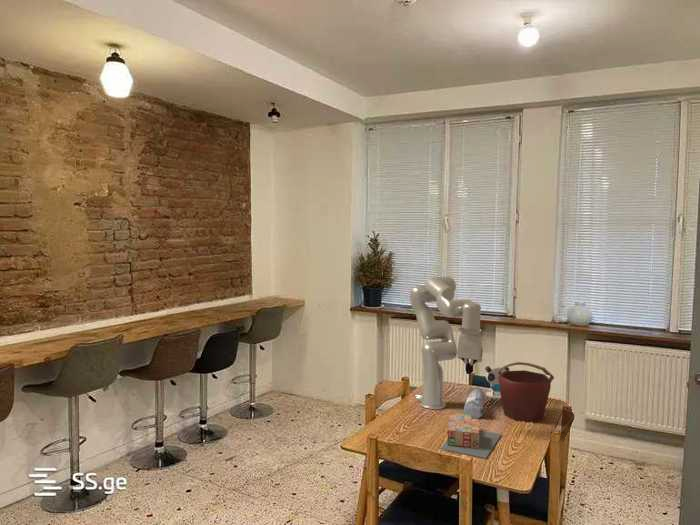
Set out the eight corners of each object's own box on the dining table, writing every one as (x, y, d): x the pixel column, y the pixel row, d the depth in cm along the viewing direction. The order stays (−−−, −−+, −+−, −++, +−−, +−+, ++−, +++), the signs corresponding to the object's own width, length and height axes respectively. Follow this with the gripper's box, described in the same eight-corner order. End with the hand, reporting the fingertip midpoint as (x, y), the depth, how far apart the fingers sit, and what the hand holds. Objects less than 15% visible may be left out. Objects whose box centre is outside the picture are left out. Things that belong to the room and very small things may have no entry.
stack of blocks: (449, 412, 228) (478, 414, 225) (449, 426, 228) (478, 428, 225) (447, 430, 207) (479, 433, 204) (447, 445, 207) (479, 448, 205)
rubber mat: (440, 449, 205) (440, 448, 205) (459, 427, 228) (459, 426, 228) (485, 459, 196) (485, 457, 196) (501, 435, 219) (501, 434, 219)
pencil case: (483, 420, 237) (483, 399, 236) (463, 418, 240) (464, 398, 239) (484, 405, 257) (485, 386, 256) (466, 403, 260) (467, 385, 259)
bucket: (559, 417, 241) (560, 363, 240) (538, 430, 225) (539, 373, 224) (510, 404, 258) (511, 354, 257) (487, 415, 243) (488, 362, 241)
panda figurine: (488, 398, 268) (489, 369, 267) (482, 391, 279) (483, 364, 278) (511, 398, 268) (512, 369, 267) (505, 391, 279) (505, 364, 278)
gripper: (451, 331, 224) (449, 372, 226) (485, 335, 216) (483, 378, 218) (456, 327, 230) (455, 368, 232) (490, 332, 223) (488, 374, 225)
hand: (469, 373), depth 225 cm, fingers closed
